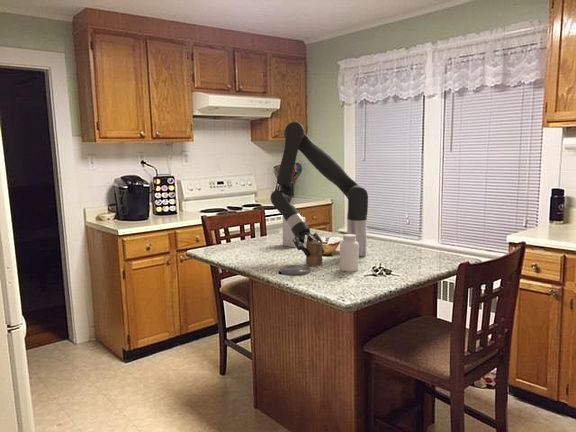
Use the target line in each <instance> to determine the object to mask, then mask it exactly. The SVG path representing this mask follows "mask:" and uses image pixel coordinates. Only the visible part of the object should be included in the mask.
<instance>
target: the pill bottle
mask: <svg viewBox="0 0 576 432" xmlns="http://www.w3.org/2000/svg"><path fill="white" fill-rule="evenodd" d="M342 239H343V240H342V241H341V242H340V243H339V270H340V271H343V272H347V273H349V272H350V273H351V272H352V273H353V272H357V271H359V264H360V263H359V261H360V260H359V259H360V256H359V243H358V242H357V241H355V240H356V235H354V234H347V233H346V234H343V236H342Z"/></svg>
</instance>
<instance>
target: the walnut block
mask: <svg viewBox="0 0 576 432" xmlns="http://www.w3.org/2000/svg"><path fill="white" fill-rule="evenodd" d="M306 248H307V249H308V250H309V252H310V253H311V255H310V256H309V257H307V256H306V255H305V261H306V262H305V266H307V265H308V266H310V267H318V266H321V265H322V266H323V254H322V248H323V243H322V242H320V241H319V242H317V241H314V240H313V241H311V242H307V244H306Z"/></svg>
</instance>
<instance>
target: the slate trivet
mask: <svg viewBox="0 0 576 432" xmlns="http://www.w3.org/2000/svg"><path fill="white" fill-rule="evenodd" d="M311 270H312V269H311V268H310V267H309V266H307V265H301V264H300V265H299V264H294V265H293V264H292V265H284V266H281V267H279V273H280V272H281V273H280V274H283V275H285V274H286V276H304V275H308V274H310V273H311Z"/></svg>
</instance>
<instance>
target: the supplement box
mask: <svg viewBox="0 0 576 432" xmlns="http://www.w3.org/2000/svg"><path fill="white" fill-rule="evenodd" d="M302 218H303V219H304V221H305V222H306V217H305V216H302ZM294 237H295V236H294V234H293V232H292V231H291V229H290V228H289V226H288V224H287V222H286V220H285V219H284V217H282V246H283V247H284V246H285V247H291V248H297V247H296V246H295V244H294V242H293V239H294ZM300 243H301V242H300ZM298 246H299V245H298Z"/></svg>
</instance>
